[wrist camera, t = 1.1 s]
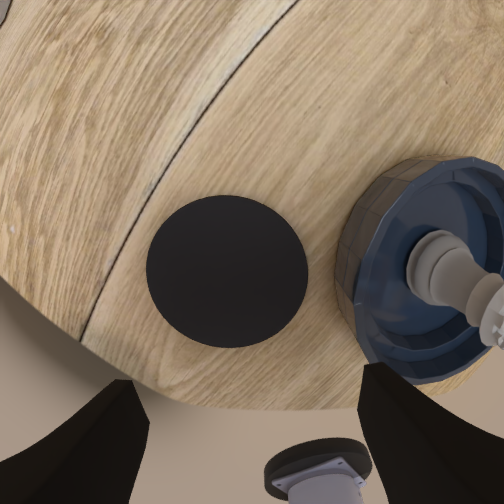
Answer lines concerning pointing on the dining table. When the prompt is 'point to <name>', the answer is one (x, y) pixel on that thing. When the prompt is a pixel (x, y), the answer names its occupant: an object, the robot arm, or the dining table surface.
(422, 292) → the rook chess piece
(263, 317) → the coaster
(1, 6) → the flask
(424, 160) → the bowl
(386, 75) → the dining table surface
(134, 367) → the dining table surface
